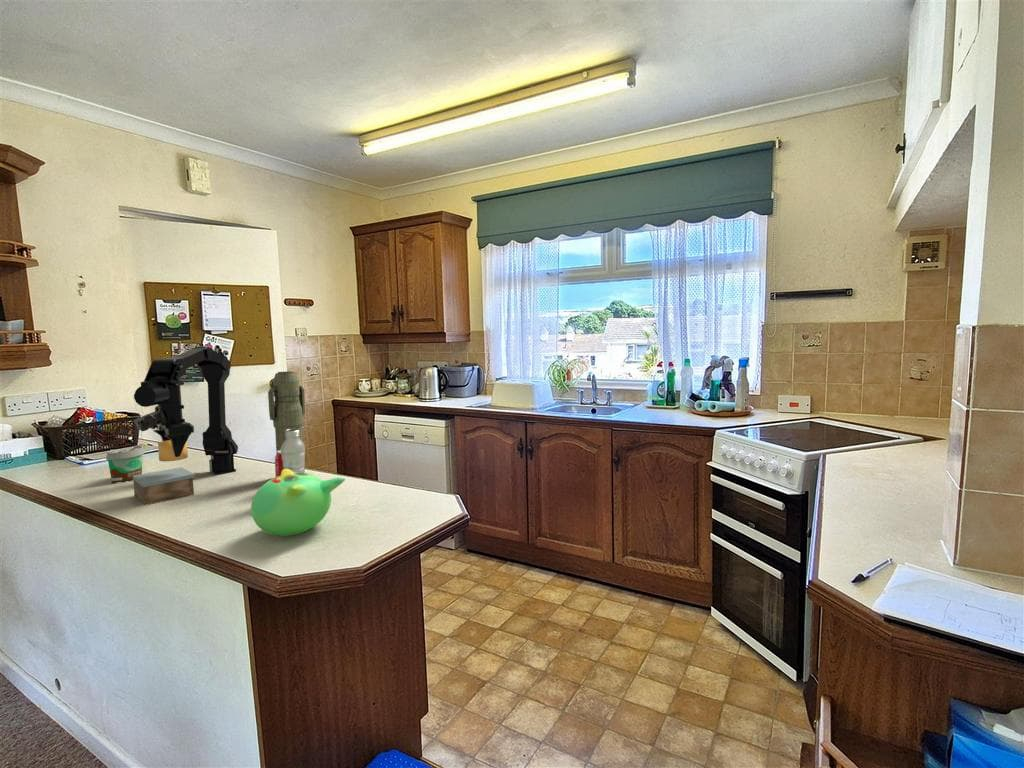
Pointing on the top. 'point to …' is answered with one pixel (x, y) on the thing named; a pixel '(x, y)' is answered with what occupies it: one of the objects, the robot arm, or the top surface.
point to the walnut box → (163, 491)
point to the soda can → (278, 463)
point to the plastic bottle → (293, 451)
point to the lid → (163, 477)
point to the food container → (125, 464)
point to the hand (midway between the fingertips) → (173, 454)
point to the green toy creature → (292, 502)
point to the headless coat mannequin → (286, 406)
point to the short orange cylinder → (170, 452)
